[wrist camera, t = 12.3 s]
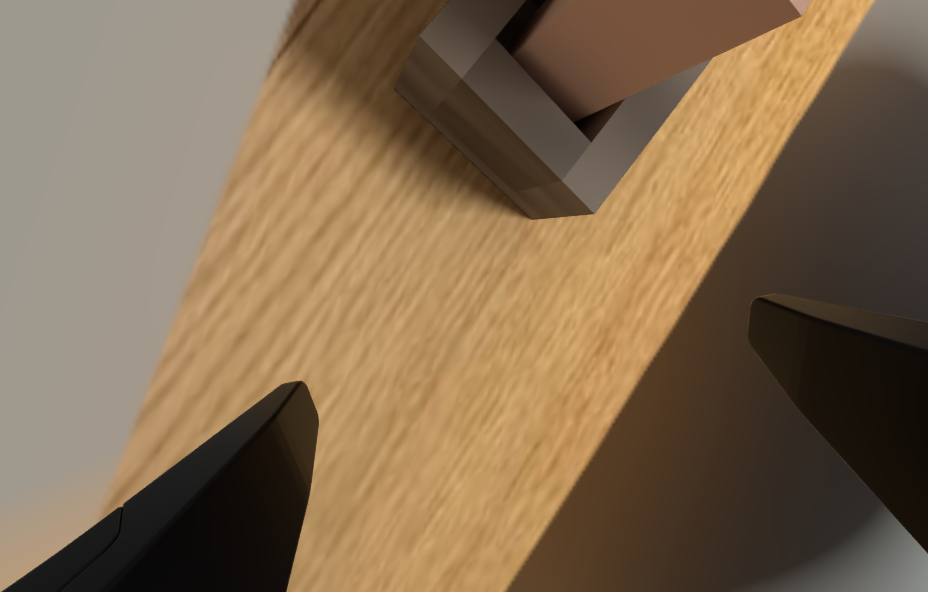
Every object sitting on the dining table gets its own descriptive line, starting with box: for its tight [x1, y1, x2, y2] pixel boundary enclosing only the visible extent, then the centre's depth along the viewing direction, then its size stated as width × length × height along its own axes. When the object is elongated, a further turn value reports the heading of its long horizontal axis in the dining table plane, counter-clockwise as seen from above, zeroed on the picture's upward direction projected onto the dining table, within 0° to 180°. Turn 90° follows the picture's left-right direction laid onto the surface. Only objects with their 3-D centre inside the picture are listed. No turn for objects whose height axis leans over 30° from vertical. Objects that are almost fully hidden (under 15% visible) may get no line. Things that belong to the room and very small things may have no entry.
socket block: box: [394, 0, 712, 220], centre depth 17 cm, size 8×8×5 cm
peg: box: [507, 0, 811, 122], centre depth 14 cm, size 3×3×11 cm
